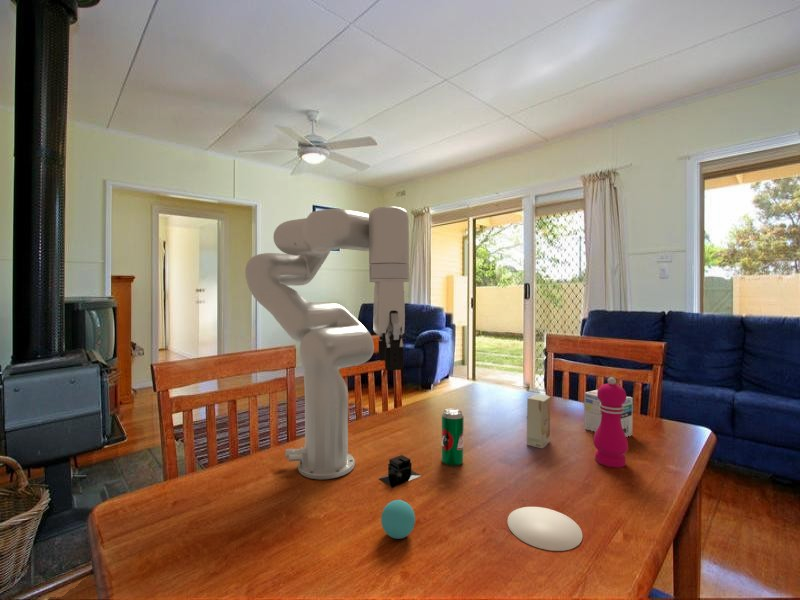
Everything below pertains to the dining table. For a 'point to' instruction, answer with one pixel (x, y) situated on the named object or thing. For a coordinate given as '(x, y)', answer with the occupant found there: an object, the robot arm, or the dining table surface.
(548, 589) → the dining table surface
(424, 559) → the dining table surface
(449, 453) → the soda can
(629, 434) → the light bulb box
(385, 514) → the ball
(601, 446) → the pepper mill
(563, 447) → the dining table surface
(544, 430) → the skincare box
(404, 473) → the black box
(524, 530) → the white rounded object
